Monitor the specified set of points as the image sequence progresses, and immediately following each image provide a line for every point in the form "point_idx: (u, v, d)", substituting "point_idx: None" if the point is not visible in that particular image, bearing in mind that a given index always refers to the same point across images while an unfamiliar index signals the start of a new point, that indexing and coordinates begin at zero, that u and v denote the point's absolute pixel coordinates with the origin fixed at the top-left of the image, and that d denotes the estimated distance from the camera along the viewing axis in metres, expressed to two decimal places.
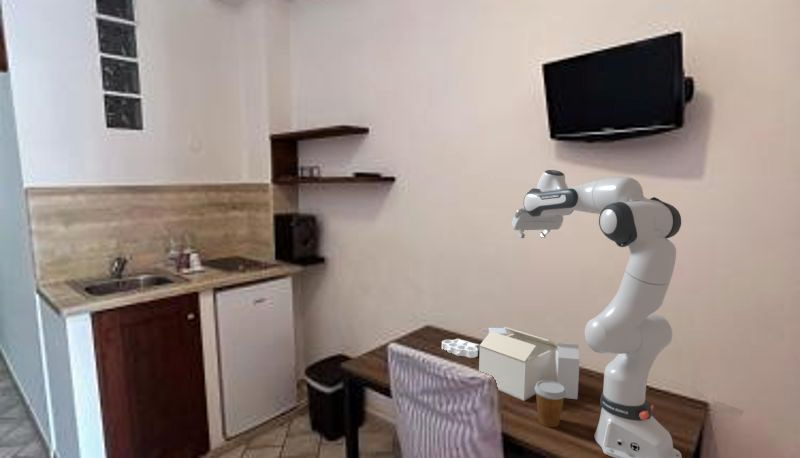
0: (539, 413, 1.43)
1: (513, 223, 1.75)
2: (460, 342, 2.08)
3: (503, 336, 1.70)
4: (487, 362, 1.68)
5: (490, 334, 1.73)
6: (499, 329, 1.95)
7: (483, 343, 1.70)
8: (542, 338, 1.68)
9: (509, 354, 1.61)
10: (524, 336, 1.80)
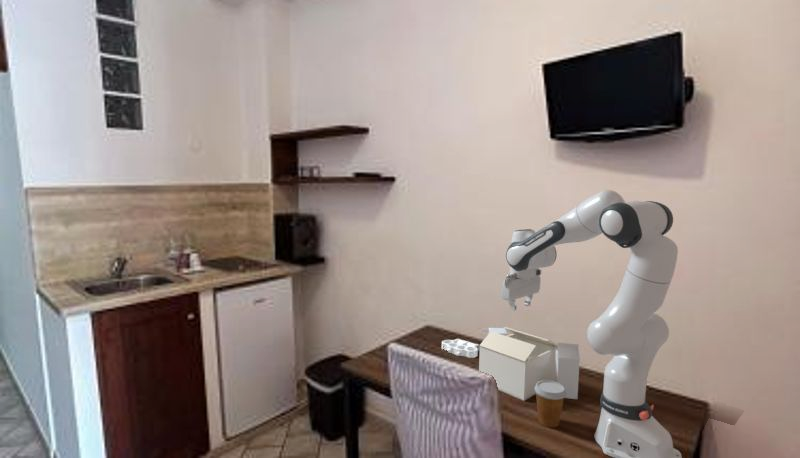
0: (539, 413, 1.43)
1: (505, 294, 1.62)
2: (460, 342, 2.08)
3: (503, 336, 1.70)
4: (487, 362, 1.68)
5: (490, 334, 1.73)
6: (499, 329, 1.95)
7: (483, 343, 1.70)
8: (542, 338, 1.68)
9: (509, 354, 1.61)
10: (524, 336, 1.80)
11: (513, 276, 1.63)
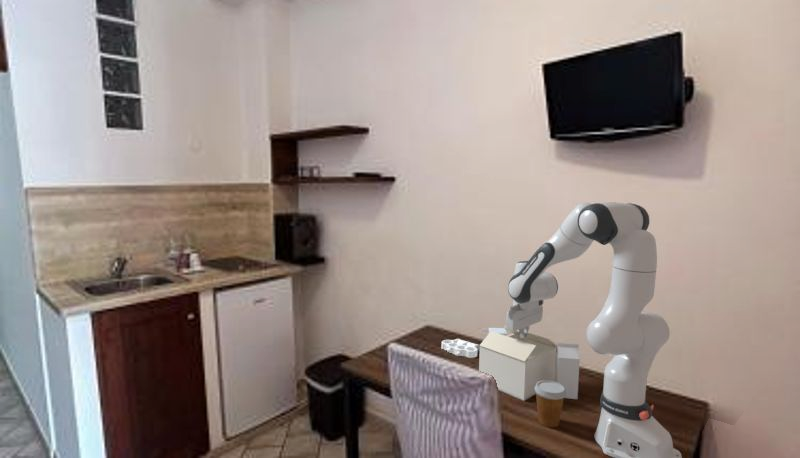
0: (539, 413, 1.43)
1: (508, 325, 1.65)
2: (460, 342, 2.08)
3: (503, 336, 1.70)
4: (487, 362, 1.68)
5: (490, 334, 1.73)
6: (499, 329, 1.95)
7: (483, 343, 1.70)
8: (542, 337, 1.68)
9: (509, 354, 1.61)
10: None
11: (516, 307, 1.67)
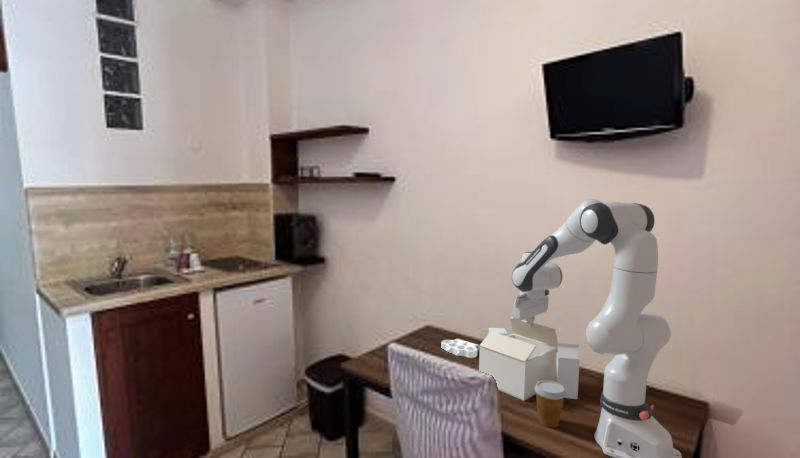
0: (539, 413, 1.43)
1: (515, 314, 1.68)
2: (459, 342, 2.08)
3: (503, 336, 1.70)
4: (487, 362, 1.68)
5: (490, 334, 1.73)
6: (499, 329, 1.95)
7: (483, 343, 1.70)
8: (548, 327, 1.70)
9: (509, 354, 1.61)
10: (525, 334, 1.80)
11: (523, 296, 1.69)
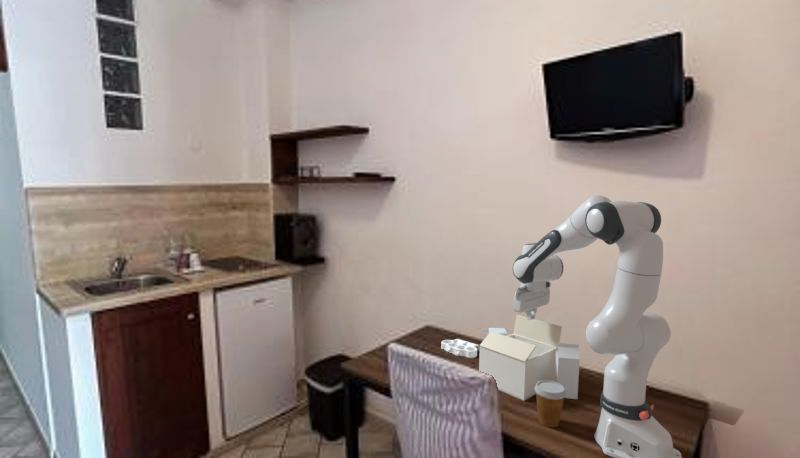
0: (539, 413, 1.43)
1: (516, 306, 1.67)
2: (459, 342, 2.08)
3: (503, 336, 1.70)
4: (487, 362, 1.68)
5: (490, 334, 1.73)
6: (499, 329, 1.95)
7: (483, 343, 1.70)
8: None
9: (509, 354, 1.61)
10: (527, 333, 1.81)
11: (524, 288, 1.69)
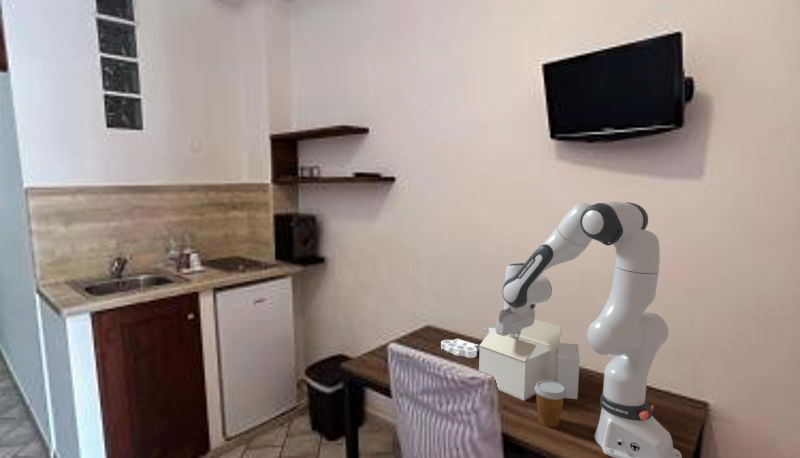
0: (539, 413, 1.43)
1: (499, 329, 1.61)
2: (459, 342, 2.08)
3: (503, 336, 1.70)
4: (487, 362, 1.68)
5: (490, 334, 1.73)
6: None
7: (483, 343, 1.70)
8: None
9: (509, 354, 1.61)
10: (527, 333, 1.81)
11: (507, 311, 1.63)
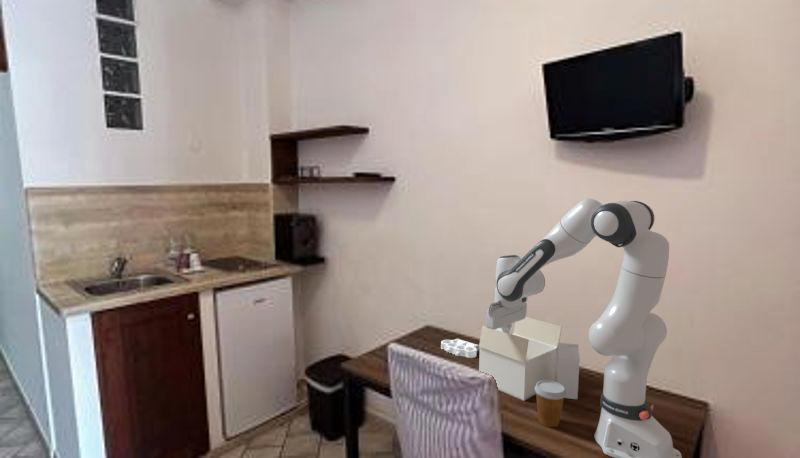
0: (539, 413, 1.43)
1: (489, 323, 1.57)
2: (459, 342, 2.08)
3: (495, 331, 1.66)
4: (487, 362, 1.68)
5: (483, 330, 1.70)
6: (499, 329, 1.95)
7: (481, 343, 1.70)
8: None
9: (508, 355, 1.60)
10: (527, 333, 1.81)
11: (497, 304, 1.58)
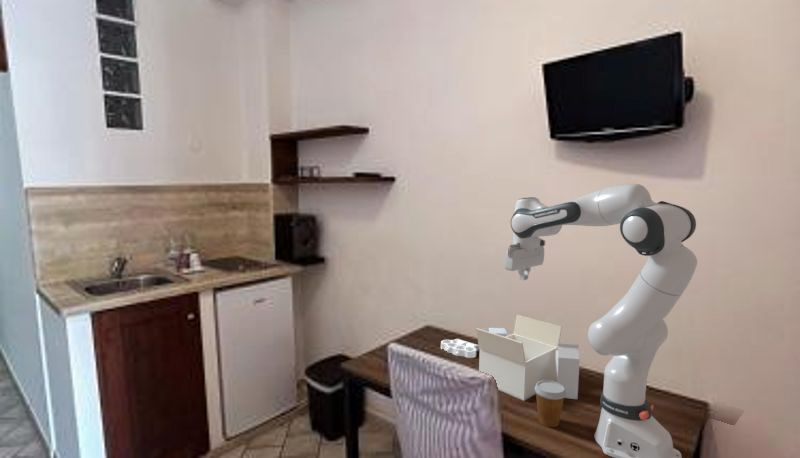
0: (539, 413, 1.43)
1: (508, 264, 1.56)
2: (459, 342, 2.08)
3: (489, 334, 1.64)
4: (487, 362, 1.68)
5: (478, 332, 1.68)
6: (499, 329, 1.95)
7: (480, 344, 1.69)
8: None
9: (507, 356, 1.60)
10: (527, 333, 1.81)
11: (516, 246, 1.58)
